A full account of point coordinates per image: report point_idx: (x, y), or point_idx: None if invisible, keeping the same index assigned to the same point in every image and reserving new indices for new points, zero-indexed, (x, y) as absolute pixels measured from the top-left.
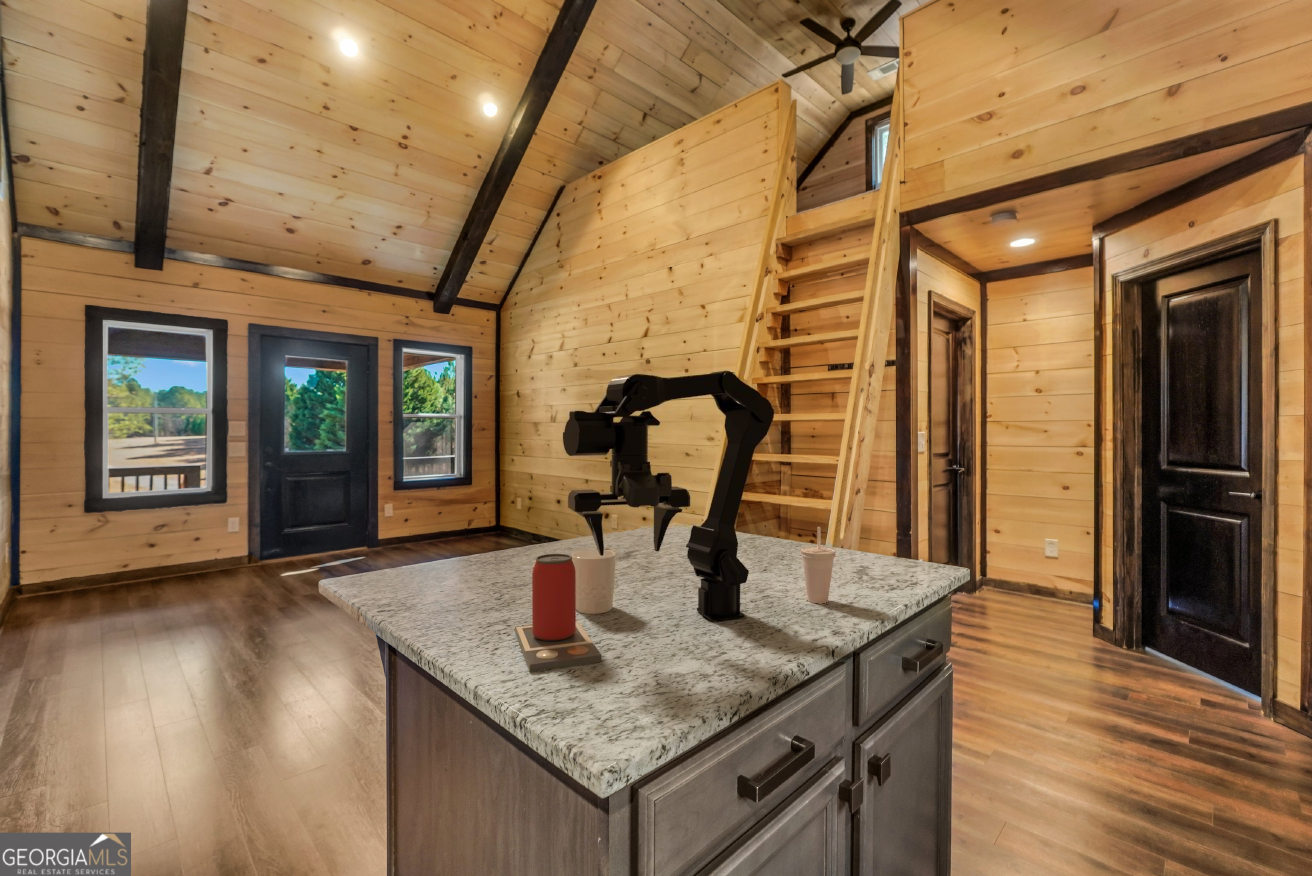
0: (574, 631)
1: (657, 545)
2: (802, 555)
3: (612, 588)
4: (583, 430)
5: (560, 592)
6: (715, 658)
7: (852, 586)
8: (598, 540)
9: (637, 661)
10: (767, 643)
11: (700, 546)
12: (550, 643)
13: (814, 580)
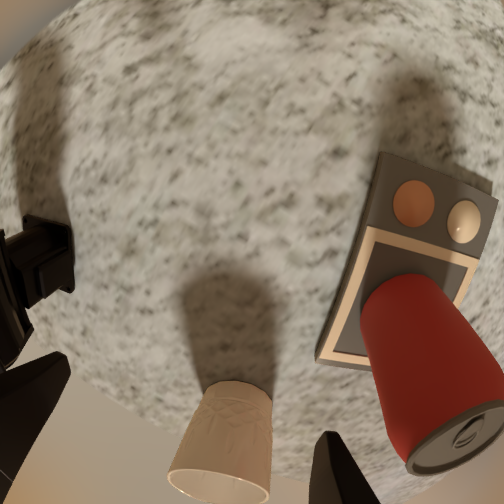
0: (378, 288)
1: (48, 366)
2: None
3: (199, 413)
4: None
5: (461, 332)
6: (158, 50)
7: None
8: (366, 491)
9: (311, 108)
10: (52, 88)
11: None
12: (430, 274)
13: None
